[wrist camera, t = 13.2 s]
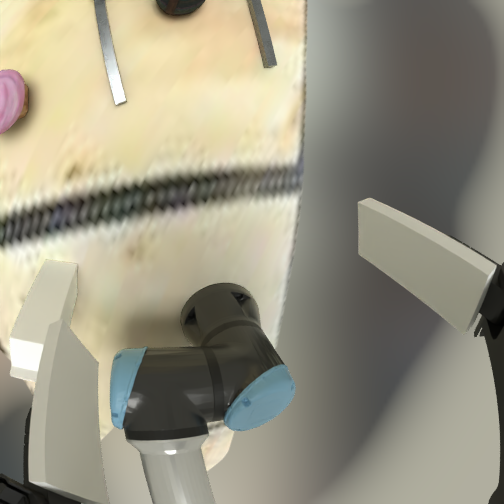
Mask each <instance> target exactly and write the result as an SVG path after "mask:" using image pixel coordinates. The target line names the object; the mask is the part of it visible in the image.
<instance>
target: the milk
mask: <svg viewBox="0 0 504 504" xmlns="http://www.w3.org/2000/svg"><path fill="white" fill-rule="evenodd" d="M77 266H78V264H75V263H68V262H61V261H55V260H48V259H46V261H45V262H44V264H43V266H42V268H41V270H40V272H39V273H38V275H37V277H36V279H35V281H34V283H33V285H32V287H31V289H30V291H29V293H28V295H27V297H26V299H25V301H24V304H23V306H22V308H21V310H20V313H19V315H18V317H17V320H16V322H15V324H14V327H13V329H12V332H11V335H10V337H9V341H10V353H11V363H12V367H11V371H10V375H11V376H12V377H16V378H20V379H24V380H28V381H33V382H36V379H37V373H38V368H39V364H40V359H41V355H42V351H43V346H44V343H45V339H46V335H47V331H48V328H49V324H51V323H54V322H56V321H58V320H61V319H63V320H64V321H65V322H66V324H67V325H68V326H69V328H70V323H71V319H72V314H73V310H74V306H75V302H76V298H77V294H78V287H77Z"/></svg>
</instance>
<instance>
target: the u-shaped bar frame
mask: <svg viewBox="0 0 504 504" xmlns="http://www.w3.org/2000/svg"><path fill="white" fill-rule="evenodd" d="M247 2H248V6H249V9H250V13H251V17H252V21H253V24H254V28H255V32H256V36H257V40H258V44H259V48H260V52H261V56H262V60H263V64H264V68H266V67H273V66H276V65H277V62H276V58H275V54H274V50H273V45H272V41H271V37H270V34H269V30H268V26H267V22H266V18H265V15H264V11H263V8H262V4H261V1H260V0H247ZM94 3H95V10H96V17H97V23H98V29H99V34H100V40H101V45H102V50H103V55H104V59H105V64H106V68H107V73H108V77H109V81H110V85H111V89H112V93H113V97H114V101H115V105H119V104H122V103H124V102H127V101H126V97H125V93H124V90H123V86H122V82H121V78H120V73H119V69H118V65H117V61H116V56H115V51H114V47H113V42H112V37H111V32H110V26H109V21H108V15H107V9H106V3H105V0H94Z"/></svg>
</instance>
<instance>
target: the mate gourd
mask: <svg viewBox="0 0 504 504" xmlns="http://www.w3.org/2000/svg"><path fill="white" fill-rule="evenodd" d="M156 1H157V3H158V5H159V7H160V8H161V9H162V10H163V11H164V12H166V13H167V14H171V15H185V14H189V13H191V12H193V11H195V10H196V9H197V8H199V7H200V6H201V5H202V4H203V3H204V2H205V0H156Z"/></svg>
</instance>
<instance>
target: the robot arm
mask: <svg viewBox="0 0 504 504" xmlns="http://www.w3.org/2000/svg"><path fill="white" fill-rule="evenodd" d="M358 222H359V223H358V225H359V255H361V256H362V257H363V258H365V259H366V260H368V261H369V262H370V263H372V264H373V265H374V266H376V267H377V268H379V269H380V270H382V271H383V272H384V273H386V274H387V275H388V276H390V277H391V278H393V279H394V280H395V281H396V282H398V283H399V284H401V285H402V286H403V287H404V288H406V289H407V290H408V291H410V292H411V293H412V294H414V295H415V296H416V297H418V298H419V299H420V300H421V301H423V302H424V303H425V304H426V305H428V306H429V307H430V308H432V309H433V310H434V311H435V312H437V313H438V314H439V315H440V316H442V317H443V318H444V319H445V320H446V321H448V322H449V323H450V324H451V325H452V326H454V327H455V328H456V329H457V330H459V331H460V332H461V333H462V334H463V335H464V334H465V333H466V332H467V331H468V330H469V329H470V327H471V326H472V325H473V324H474V322H475V320H476V318H477V315H478V313H480V314H482V317H481V319H480V321H479V323H478V325H477V327H476V329H475V332H474V337H477V335H478V333H479V331H480V329H481V327H482V330H481V332H480V336H485V340H486V344H487V348H488V352H489V357H490V361H491V366H492V370H493V376H494V382H495V388H496V395H497V403H498V413H499V424H500V476H499V484H498V487H497V489H496V490H495V491H494V493H493V494H492V496H491V498H490V500H489V503H488V504H504V263H503V264H502V266H501V265H499V264H497V263H496V262H494V261H493V260H491V259H489V258H488V257H486V256H484V255H483V254H481V253H480V252H478V251H476V250H475V249H473V248H470V247H469V246H468V245H466V244H465V243H463V244H462V242H461V241H459V240H457V239H456V238H454V237H452V236H449V235H446V234H443V233H441V232H439V231H438V230H436V229H434V228H432V227H430V226H428V225H426V224H424V223H422V222H420V221H418V220H416V219H414V218H412V217H410V216H408V215H406V214H404V213H402V212H400V211H398V210H396V209H394V208H392V207H389V206H387V205H385V204H383V203H381V202H378V201H376V200H374V199H372V198H368V199H365V200H362V201H360V202H358ZM181 325H182V329H183V332H184V335H185V337H186V338H187V340H188V341H189V342H190V343H191V345H192V346H193V347H175V348H148V347H144V348H135V349H123V350H120V351H119V352H118V353H117V354H116V355H115V357H114V360H113V364H112V370H111V380H110V409H111V419H112V423H113V425H114V426H115V427H117V428H119V429H123V428H124V431H125V436H126V440H127V442H129V443H130V444H131V445H132V446H134V447H135V448H136V449H137V450H138V451H139V452H140V456H141V461H142V465H143V469H144V473H145V477H146V481H147V484H148V488H149V492H150V495H151V498H152V502H153V504H216V503H215V500H214V497H213V494H212V490H211V486H210V482H209V479H208V475H207V471H206V467H205V463H204V459H203V455H202V451H201V446H202V444H203V442H204V441H205V440H206V439H207V437H208V436H209V432H208V428H207V422H214V421H220V420H223V421H224V424H225V425H226V426H227V427H228V428H229V429H231V430H234V431H235V430H236V431H245V430H250V429H253V428H256V427H258V426H260V425H263V424H264V423H266V422H268V421H270V420H271V419H273V418H274V417H276V416H277V415H279V414H280V413H281V412H282V411H283V410H284V409H285V408H286V407H287V406H288V405H289V404H290V402H291V400H292V399H293V397H294V394H295V389H296V387H295V383H294V381H293V379H292V377H291V375H290V373H289V371H288V368H287V366H286V365H285V364H284V363H283V361H282V360H281V358H280V357H279V355H278V354H277V352H276V351H275V349H274V348H273V346H272V344H271V343H270V341H269V340H268V338H267V337H266V335H265V334H264V332H263V330H262V329H261V324H260V316H259V309H258V306H257V303H256V301H255V300H254V298H253V297H252V295H251V294H250V293H249V292H248V291H247V290H246V289H245V288H243V287H241V286H239V285H236V284H230V283H221V284H215V285H211V286H208V287H206V288H204V289H202V290H200V291H198V292H197V293H195V294H194V295H193V296H192V297H191V298H190V299H189V300H188V301H187V303H186V304H185V306H184V308H183V310H182V313H181ZM25 434H26V435H25V437H24V443H25V446H24V485H23V484H21V483H19V482H17V481H15V480H13V479H11V478H9V477H7V476H6V475H4V474H0V504H81V503H84V504H110V502H109V497H108V493H107V487H106V481H105V475H104V468H103V461H102V452H101V442H100V430H99V411H98V361H97V360H96V359H95V358H94V357H93V356H92V355H91V353H90V352H89V351H88V350H87V349H86V348H85V346H84V345H83V344H82V343H81V342H80V340H79V339H78V338H77V337H76V335H75V334H74V333H73V332H72V330H71V329H70V328H69V326H68V325H67V324H66V322H65V321H64V320H63V319H61V320H58V321H56V322H54V323H51V324H49V328H48V331H47V335H46V339H45V343H44V346H43V351H42V355H41V359H40V364H39V368H38V373H37V379H36V384H35V390H34V397H33V404H32V407H31V408H30V411H29V413H28V416H27V419H26V426H25Z"/></svg>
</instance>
